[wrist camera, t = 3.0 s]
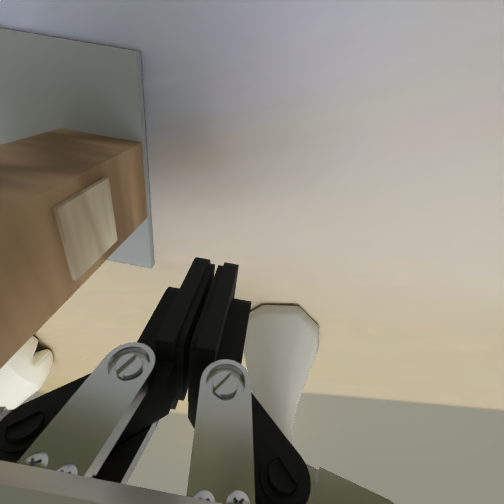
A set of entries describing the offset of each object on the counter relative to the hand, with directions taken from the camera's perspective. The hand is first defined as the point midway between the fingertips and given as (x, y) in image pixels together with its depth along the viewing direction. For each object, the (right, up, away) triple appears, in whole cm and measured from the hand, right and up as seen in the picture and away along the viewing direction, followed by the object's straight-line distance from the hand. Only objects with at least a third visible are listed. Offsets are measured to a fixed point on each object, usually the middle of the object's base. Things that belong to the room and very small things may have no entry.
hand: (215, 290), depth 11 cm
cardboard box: (-8, +6, +7) cm, 12 cm away
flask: (+4, -5, +14) cm, 16 cm away
